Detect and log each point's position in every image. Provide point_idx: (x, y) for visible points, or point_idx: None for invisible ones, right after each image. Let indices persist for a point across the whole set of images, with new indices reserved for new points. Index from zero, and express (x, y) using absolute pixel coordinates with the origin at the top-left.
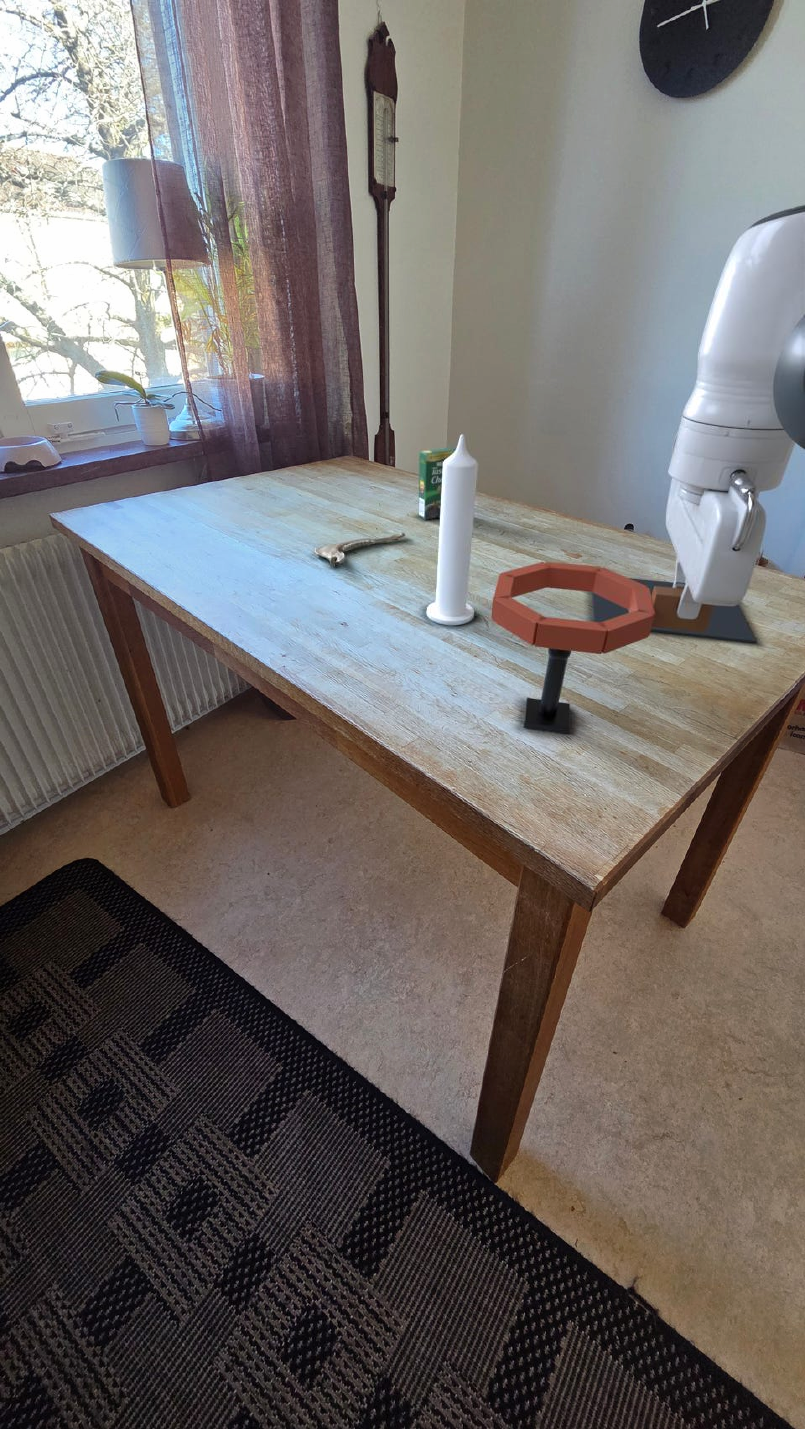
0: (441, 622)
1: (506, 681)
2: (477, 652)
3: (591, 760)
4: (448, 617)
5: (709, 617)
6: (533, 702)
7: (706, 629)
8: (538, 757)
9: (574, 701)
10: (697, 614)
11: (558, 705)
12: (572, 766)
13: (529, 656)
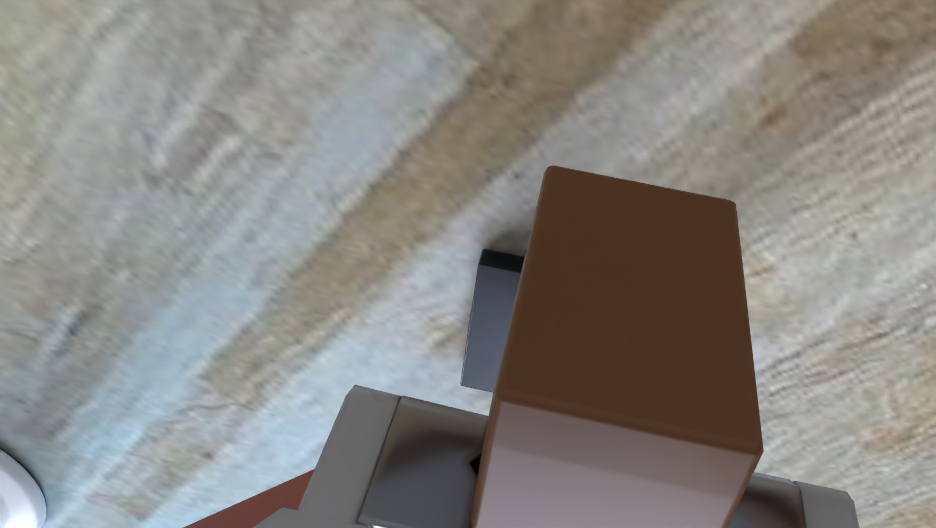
0: (43, 517)
1: (339, 399)
2: (181, 447)
3: (810, 239)
4: (14, 508)
5: (745, 306)
6: (489, 373)
7: (733, 216)
8: (778, 388)
9: (426, 216)
10: (855, 522)
11: (498, 302)
12: (839, 304)
13: (147, 306)
